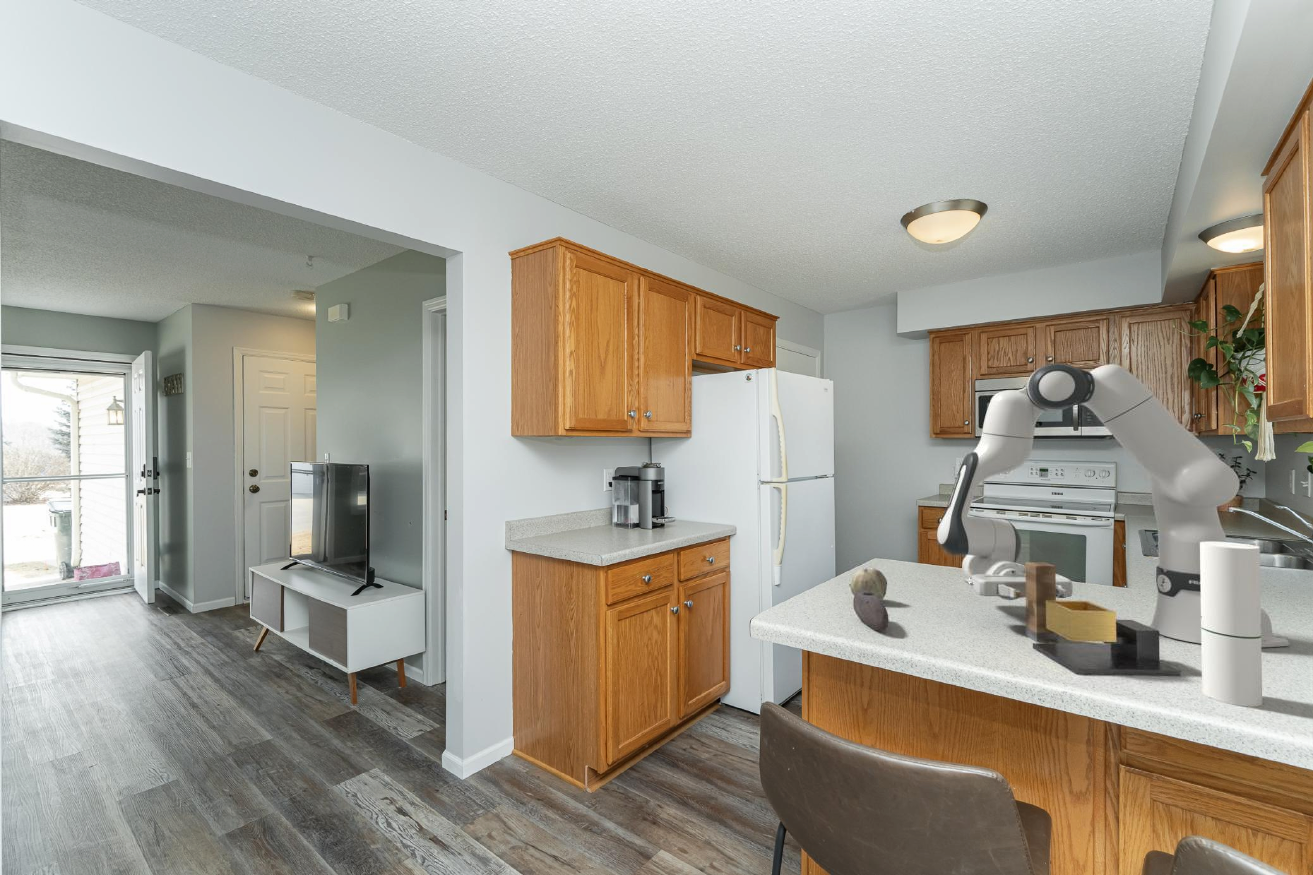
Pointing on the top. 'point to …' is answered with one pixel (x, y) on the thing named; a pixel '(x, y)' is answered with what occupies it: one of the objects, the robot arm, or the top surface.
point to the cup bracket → (1124, 640)
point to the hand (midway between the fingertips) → (1039, 594)
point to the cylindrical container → (1231, 623)
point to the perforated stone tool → (870, 610)
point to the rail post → (1039, 599)
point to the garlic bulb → (869, 582)
